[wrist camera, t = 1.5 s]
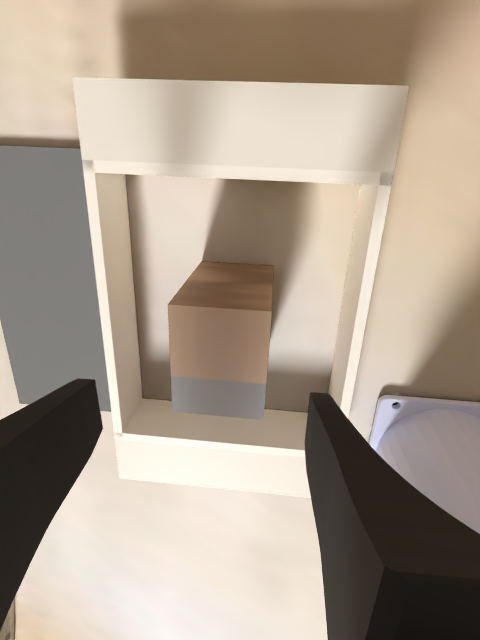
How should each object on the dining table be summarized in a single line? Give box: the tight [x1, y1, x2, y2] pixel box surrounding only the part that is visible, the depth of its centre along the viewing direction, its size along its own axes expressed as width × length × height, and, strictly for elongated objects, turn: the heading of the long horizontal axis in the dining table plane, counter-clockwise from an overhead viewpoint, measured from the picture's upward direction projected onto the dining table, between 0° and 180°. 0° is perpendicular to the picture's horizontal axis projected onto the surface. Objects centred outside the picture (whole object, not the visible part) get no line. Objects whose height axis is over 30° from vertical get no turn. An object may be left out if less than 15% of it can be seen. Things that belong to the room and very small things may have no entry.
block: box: [168, 261, 273, 420], centre depth 18 cm, size 4×5×7 cm
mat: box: [0, 145, 111, 412], centre depth 22 cm, size 7×16×1 cm, turn 178°
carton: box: [72, 77, 409, 498], centre depth 20 cm, size 13×21×4 cm, turn 178°
